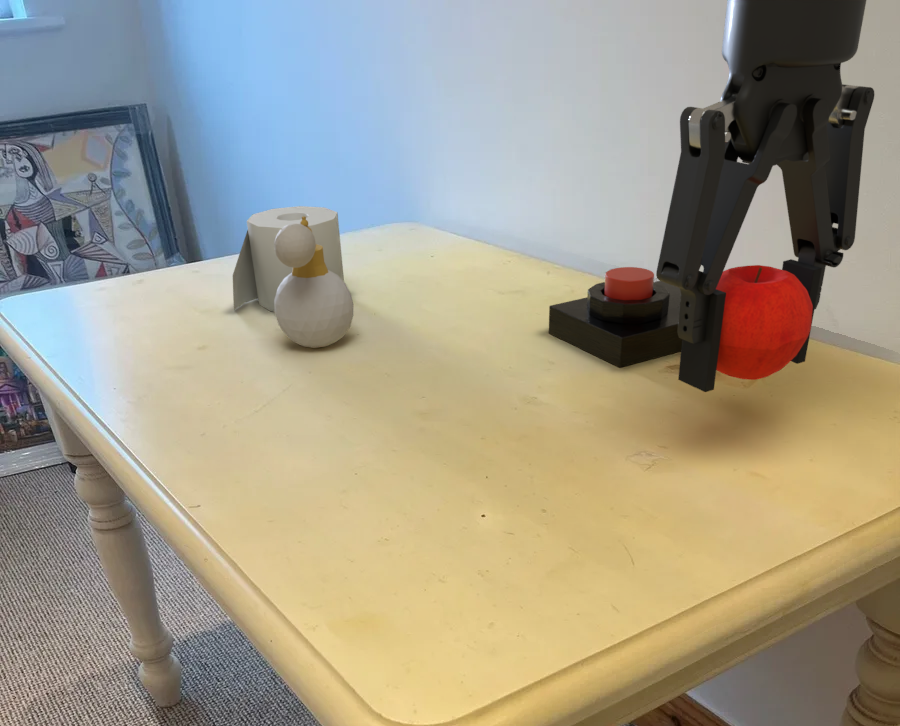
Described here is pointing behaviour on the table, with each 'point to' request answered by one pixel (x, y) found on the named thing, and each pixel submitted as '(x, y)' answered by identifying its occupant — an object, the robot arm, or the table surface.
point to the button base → (620, 324)
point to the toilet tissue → (258, 259)
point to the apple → (761, 321)
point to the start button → (629, 283)
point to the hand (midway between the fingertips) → (742, 370)
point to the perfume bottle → (309, 291)
